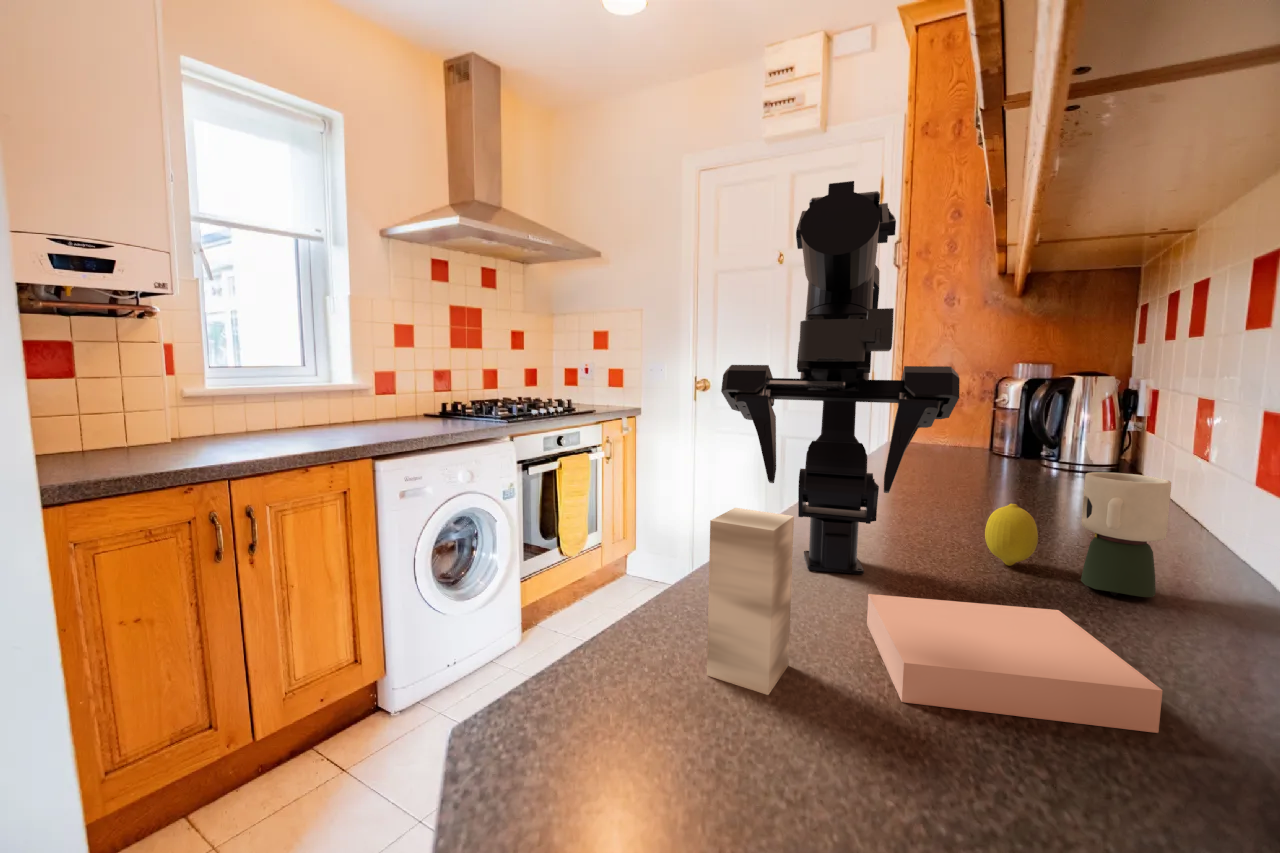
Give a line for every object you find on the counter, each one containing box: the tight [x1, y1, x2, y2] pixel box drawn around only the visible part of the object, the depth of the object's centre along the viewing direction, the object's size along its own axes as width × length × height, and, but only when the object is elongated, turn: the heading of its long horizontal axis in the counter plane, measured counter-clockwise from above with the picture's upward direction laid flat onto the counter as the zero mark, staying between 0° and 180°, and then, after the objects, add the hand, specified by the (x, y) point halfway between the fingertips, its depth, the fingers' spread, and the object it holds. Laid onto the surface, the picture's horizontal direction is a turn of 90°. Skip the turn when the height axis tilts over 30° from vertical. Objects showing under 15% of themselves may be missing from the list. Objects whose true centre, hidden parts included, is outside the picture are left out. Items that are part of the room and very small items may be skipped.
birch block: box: [706, 507, 795, 696], centre depth 44 cm, size 5×5×12 cm
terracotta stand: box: [866, 593, 1164, 734], centre depth 45 cm, size 13×16×3 cm
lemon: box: [984, 503, 1039, 567], centre depth 70 cm, size 6×6×8 cm
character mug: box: [1080, 471, 1172, 598], centre depth 61 cm, size 11×7×13 cm, turn 129°
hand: (826, 487), depth 46 cm, fingers open, 9 cm apart
